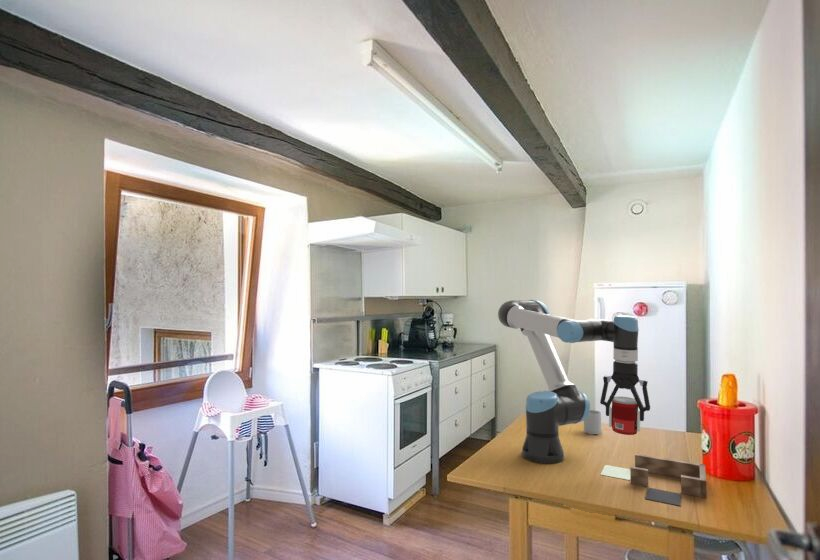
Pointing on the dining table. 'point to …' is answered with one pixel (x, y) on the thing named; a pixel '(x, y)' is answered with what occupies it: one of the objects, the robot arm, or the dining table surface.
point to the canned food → (624, 415)
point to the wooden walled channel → (670, 473)
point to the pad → (616, 472)
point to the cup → (593, 422)
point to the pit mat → (663, 496)
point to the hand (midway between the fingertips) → (624, 427)
